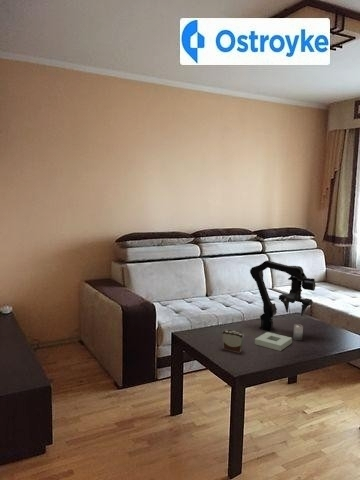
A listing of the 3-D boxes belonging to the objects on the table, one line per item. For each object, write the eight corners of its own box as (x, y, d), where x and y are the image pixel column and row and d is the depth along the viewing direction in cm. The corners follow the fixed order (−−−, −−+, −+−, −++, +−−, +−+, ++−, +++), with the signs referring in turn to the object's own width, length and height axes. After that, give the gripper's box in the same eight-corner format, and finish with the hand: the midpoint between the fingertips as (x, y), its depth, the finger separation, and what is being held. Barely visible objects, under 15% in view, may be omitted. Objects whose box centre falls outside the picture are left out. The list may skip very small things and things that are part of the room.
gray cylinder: (291, 339, 225) (292, 325, 225) (295, 336, 229) (295, 323, 228) (300, 341, 222) (300, 327, 222) (303, 338, 226) (304, 325, 225)
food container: (247, 349, 209) (247, 331, 208) (242, 353, 204) (243, 334, 203) (225, 345, 215) (226, 327, 214) (221, 348, 210) (221, 330, 209)
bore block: (254, 344, 217) (254, 338, 217) (267, 336, 229) (267, 331, 228) (280, 351, 208) (280, 345, 207) (291, 343, 219) (292, 337, 219)
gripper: (275, 287, 231) (273, 313, 233) (305, 293, 219) (303, 320, 221) (283, 284, 240) (282, 309, 241) (313, 290, 228) (311, 316, 229)
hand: (294, 313), depth 233 cm, fingers open, 9 cm apart
